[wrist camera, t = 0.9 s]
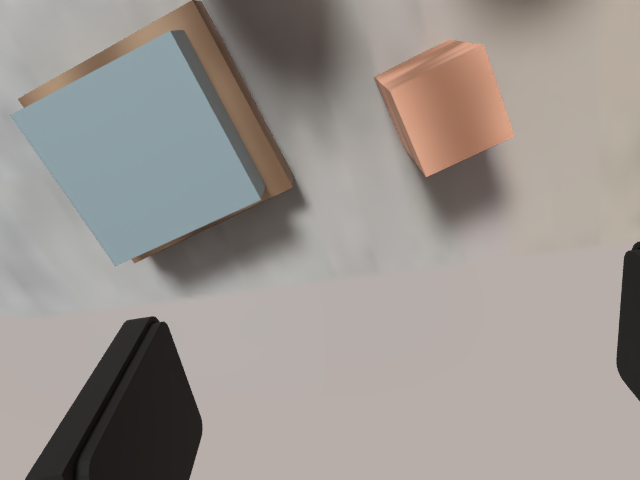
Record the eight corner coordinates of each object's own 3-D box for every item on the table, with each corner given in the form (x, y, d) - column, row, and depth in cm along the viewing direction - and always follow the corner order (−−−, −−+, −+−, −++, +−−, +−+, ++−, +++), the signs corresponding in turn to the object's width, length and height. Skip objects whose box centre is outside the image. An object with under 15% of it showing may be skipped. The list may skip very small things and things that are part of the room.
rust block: (448, 39, 31) (484, 44, 25) (475, 113, 33) (514, 136, 27) (374, 77, 32) (390, 91, 26) (404, 147, 34) (426, 177, 28)
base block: (203, 1, 31) (192, 0, 28) (294, 174, 35) (292, 187, 32) (42, 92, 33) (17, 99, 30) (147, 245, 37) (134, 263, 34)
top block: (183, 29, 29) (170, 30, 26) (265, 184, 32) (261, 199, 29) (37, 106, 30) (10, 115, 27) (131, 246, 34) (115, 266, 31)
